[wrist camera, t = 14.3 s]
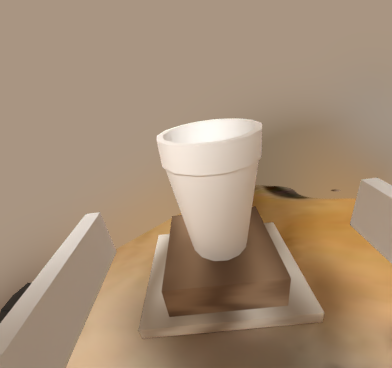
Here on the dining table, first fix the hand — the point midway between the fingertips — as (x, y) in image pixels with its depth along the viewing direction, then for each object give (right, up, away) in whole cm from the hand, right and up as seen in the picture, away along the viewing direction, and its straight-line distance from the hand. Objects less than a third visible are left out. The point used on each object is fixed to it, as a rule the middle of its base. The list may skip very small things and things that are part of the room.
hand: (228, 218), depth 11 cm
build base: (+2, -10, +16) cm, 19 cm away
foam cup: (+1, -5, +14) cm, 15 cm away
